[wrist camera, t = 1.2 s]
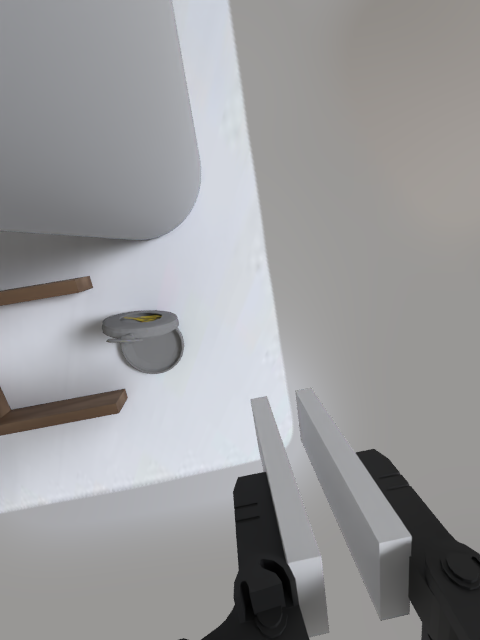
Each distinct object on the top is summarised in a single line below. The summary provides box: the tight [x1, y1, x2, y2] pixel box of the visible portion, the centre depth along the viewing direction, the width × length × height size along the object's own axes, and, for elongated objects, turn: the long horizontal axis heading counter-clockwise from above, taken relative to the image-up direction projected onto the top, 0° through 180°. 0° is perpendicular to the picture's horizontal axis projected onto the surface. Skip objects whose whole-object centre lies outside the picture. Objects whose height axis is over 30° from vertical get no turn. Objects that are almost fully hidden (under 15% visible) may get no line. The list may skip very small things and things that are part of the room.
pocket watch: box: [102, 310, 184, 374], centre depth 25 cm, size 8×8×10 cm
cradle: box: [0, 276, 128, 436], centre depth 28 cm, size 14×14×3 cm
